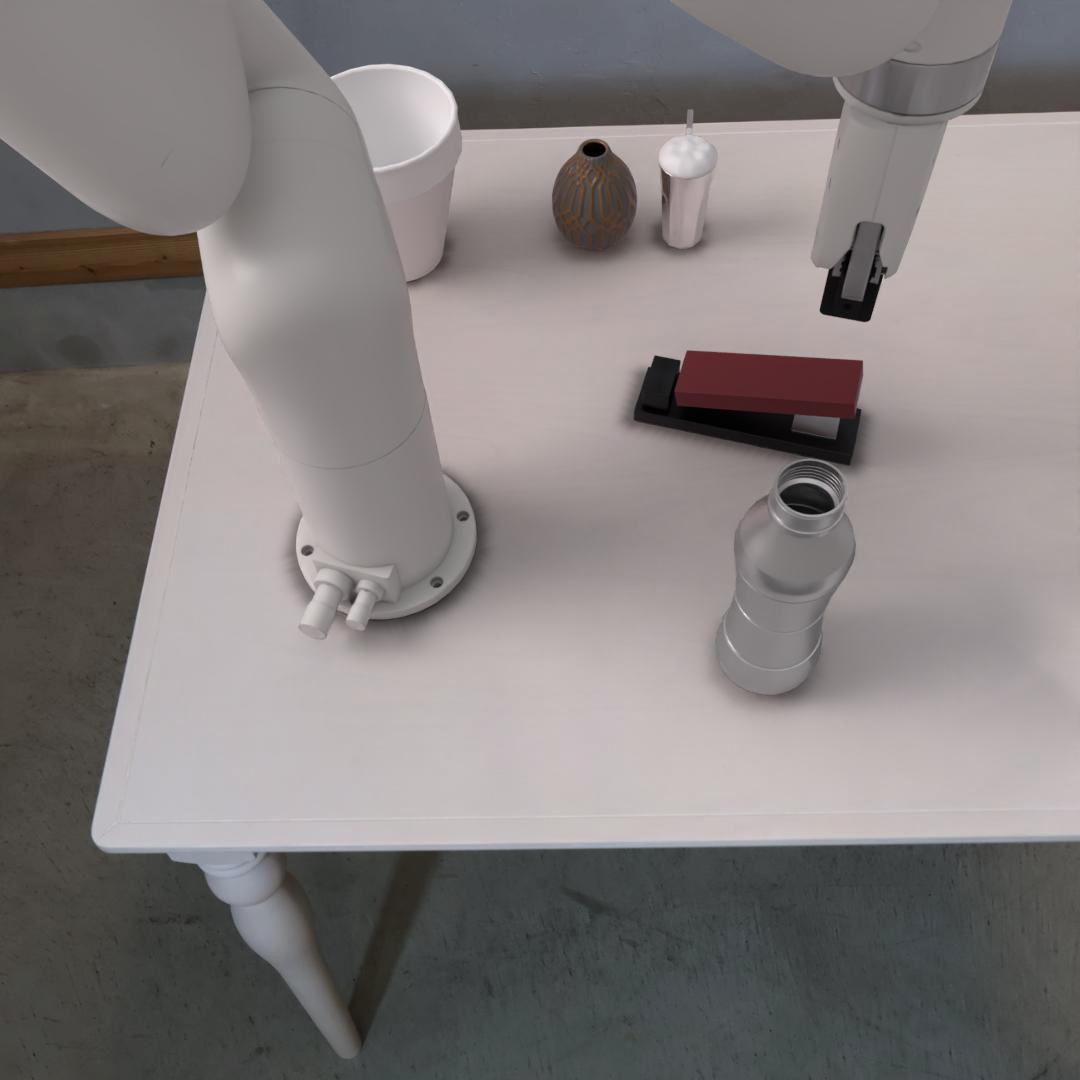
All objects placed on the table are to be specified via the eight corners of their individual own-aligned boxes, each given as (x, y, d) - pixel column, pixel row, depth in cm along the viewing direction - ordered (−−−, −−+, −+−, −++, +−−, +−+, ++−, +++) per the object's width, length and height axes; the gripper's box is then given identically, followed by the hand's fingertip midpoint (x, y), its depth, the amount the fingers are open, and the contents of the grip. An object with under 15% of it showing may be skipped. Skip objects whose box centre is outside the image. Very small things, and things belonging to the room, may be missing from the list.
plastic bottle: (836, 674, 73) (907, 503, 56) (748, 724, 71) (794, 565, 54) (776, 598, 76) (827, 415, 59) (692, 645, 74) (718, 470, 57)
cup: (311, 228, 96) (271, 91, 85) (445, 185, 98) (424, 45, 87) (356, 326, 90) (320, 192, 79) (498, 277, 92) (483, 140, 81)
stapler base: (858, 418, 83) (867, 392, 81) (849, 465, 81) (857, 440, 78) (647, 376, 86) (649, 349, 84) (633, 420, 84) (634, 394, 81)
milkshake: (709, 210, 95) (720, 110, 87) (708, 255, 93) (719, 157, 84) (656, 208, 96) (661, 108, 87) (653, 253, 93) (658, 155, 84)
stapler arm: (863, 375, 79) (863, 360, 78) (854, 419, 77) (854, 404, 76) (689, 364, 83) (686, 349, 82) (676, 406, 81) (673, 391, 80)
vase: (540, 220, 96) (535, 134, 88) (614, 196, 97) (616, 109, 89) (573, 273, 92) (571, 189, 85) (649, 248, 93) (654, 162, 86)
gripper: (860, -44, 60) (807, 219, 76) (812, 137, 53) (764, 386, 69) (1005, -26, 59) (920, 238, 74) (976, 163, 52) (889, 411, 67)
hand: (845, 309), depth 71 cm, fingers closed
